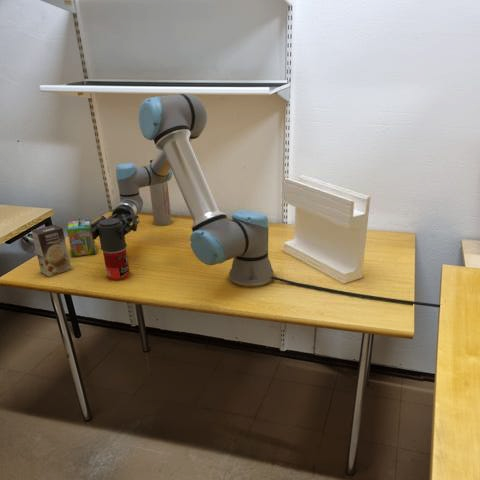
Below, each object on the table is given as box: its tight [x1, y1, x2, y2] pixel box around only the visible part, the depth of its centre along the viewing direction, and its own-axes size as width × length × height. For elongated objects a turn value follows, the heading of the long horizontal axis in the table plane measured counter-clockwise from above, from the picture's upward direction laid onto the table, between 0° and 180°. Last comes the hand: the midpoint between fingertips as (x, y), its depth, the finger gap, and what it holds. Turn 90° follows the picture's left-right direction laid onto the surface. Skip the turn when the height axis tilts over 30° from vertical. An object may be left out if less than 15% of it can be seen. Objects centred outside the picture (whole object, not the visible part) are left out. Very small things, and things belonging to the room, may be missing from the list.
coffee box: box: [30, 224, 72, 278], centre depth 172 cm, size 9×6×16 cm
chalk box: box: [66, 214, 97, 258], centre depth 188 cm, size 9×9×15 cm
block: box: [282, 174, 371, 284], centre depth 168 cm, size 35×8×28 cm, turn 31°
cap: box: [97, 217, 128, 252], centre depth 163 cm, size 9×9×9 cm
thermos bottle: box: [149, 159, 172, 227], centre depth 213 cm, size 8×8×28 cm
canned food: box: [102, 247, 131, 281], centre depth 168 cm, size 8×8×11 cm
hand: (107, 235), depth 158 cm, fingers closed on cap, 8 cm apart
